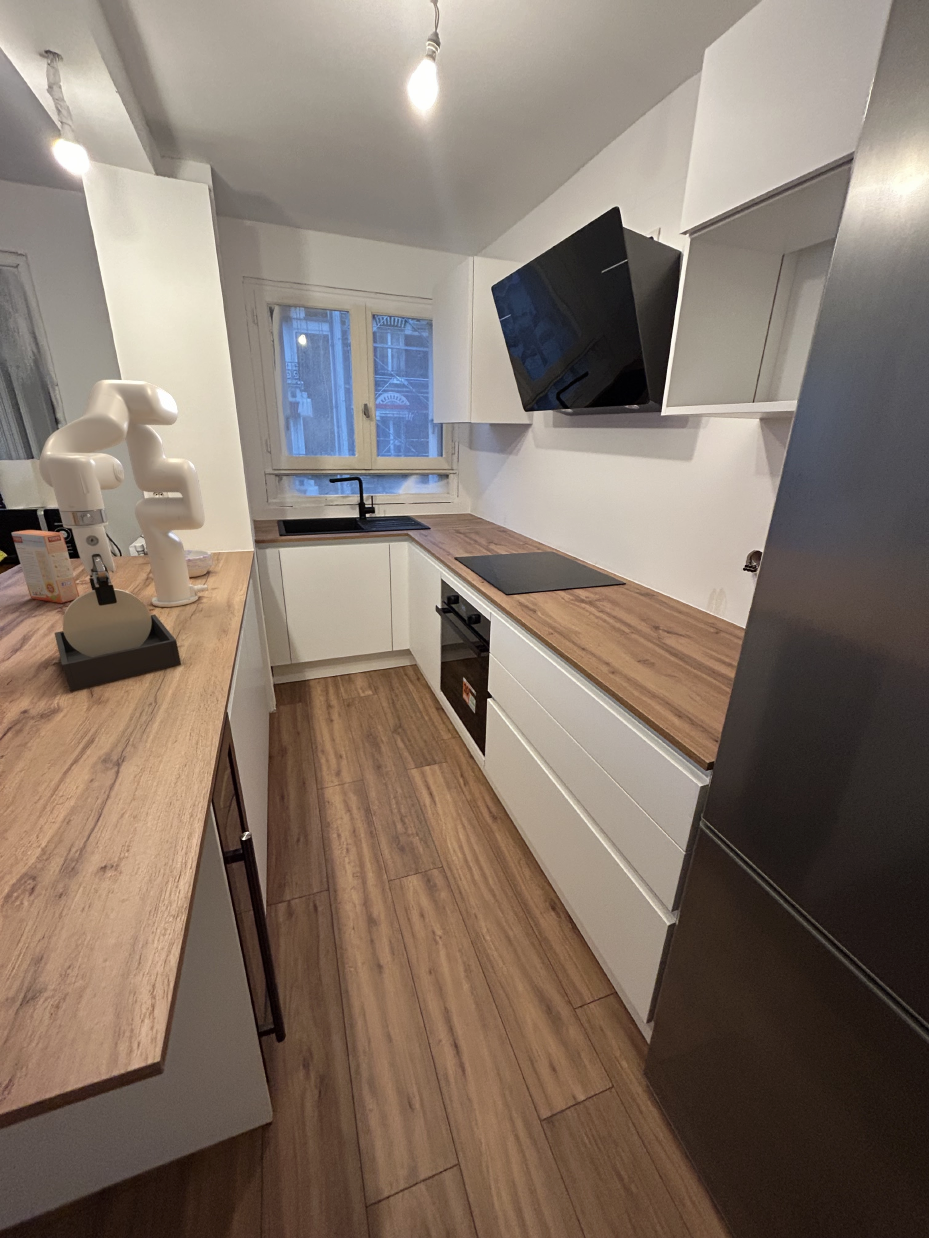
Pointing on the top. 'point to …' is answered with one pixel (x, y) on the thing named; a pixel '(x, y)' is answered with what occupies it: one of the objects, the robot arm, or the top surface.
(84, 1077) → the top surface
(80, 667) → the sink basin
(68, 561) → the cracker box
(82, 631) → the plate
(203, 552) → the paper bowls
